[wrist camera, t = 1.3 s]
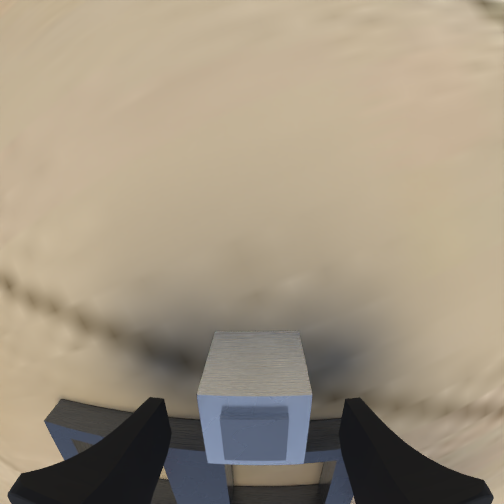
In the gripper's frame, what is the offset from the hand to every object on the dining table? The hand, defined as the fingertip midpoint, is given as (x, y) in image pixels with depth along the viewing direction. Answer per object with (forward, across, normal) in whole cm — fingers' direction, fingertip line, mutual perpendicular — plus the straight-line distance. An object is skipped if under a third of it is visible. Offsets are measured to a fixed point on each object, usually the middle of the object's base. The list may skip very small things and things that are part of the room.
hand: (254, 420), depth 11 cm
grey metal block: (+4, 0, 0) cm, 4 cm away
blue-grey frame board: (+4, +3, +8) cm, 10 cm away
